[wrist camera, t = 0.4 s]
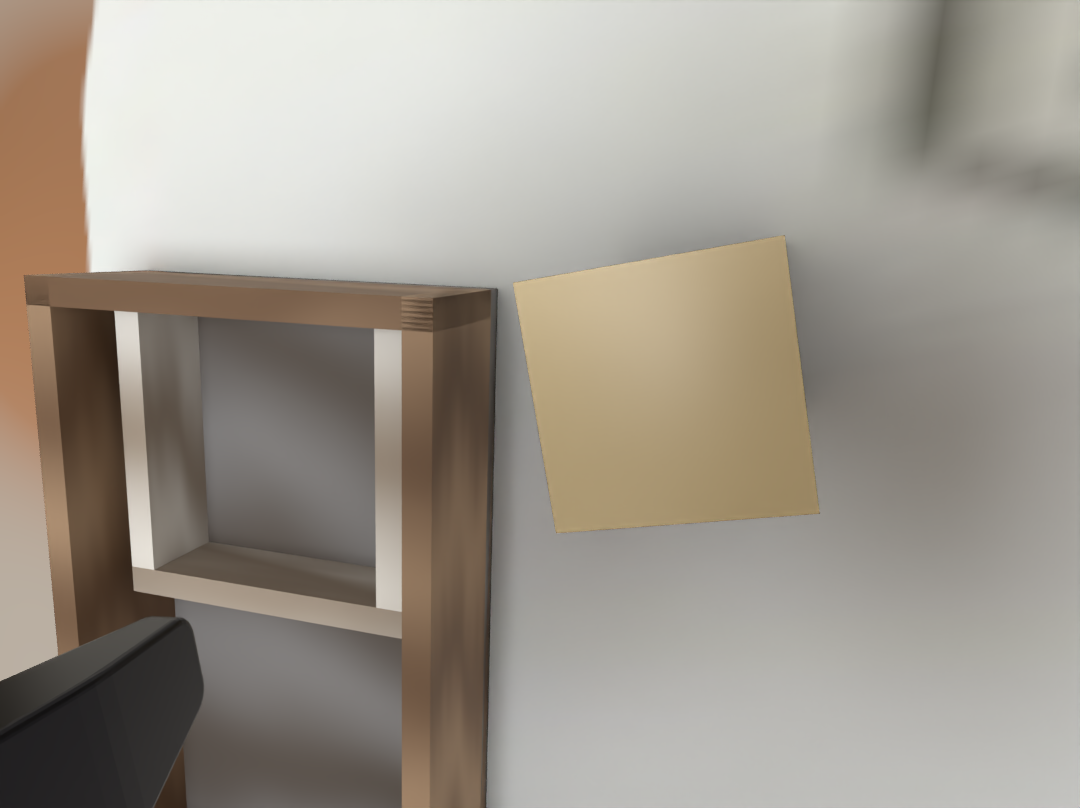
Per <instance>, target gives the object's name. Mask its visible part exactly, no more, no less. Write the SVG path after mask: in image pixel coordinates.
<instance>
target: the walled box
mask: <svg viewBox="0 0 1080 808" xmlns="http://www.w3.org/2000/svg"><path fill="white" fill-rule="evenodd" d="M24 281H25V293H26V304H27V315H28V326H29V336H30V348H31V359H32V370H33V381H34V392H35V403H36V414H37V425H38V436H39V446H40V458H41V468H42V480H43V492H44V503H45V514H46V525H47V535H48V546H49V558H50V569H51V580H52V591H53V601H54V613H55V623H56V635H57V645H58V656H59V655H61V654H63V653H66V652H68V651H70V650H72V649H75V648H77V647H79V646H81V645H84V644H86V643H88V642H91V641H93V640H95V639H97V638H100V637H102V636H104V635H106V634H109V633H111V632H113V631H115V630H118V629H120V628H122V627H125V626H127V625H129V624H131V623H134V622H136V621H138V620H140V619H143V618H145V617H150V616H160V617H181V618H184V619H186V620H187V621H188V622H189V623H190V624H191V626H192V628H193V632H194V636H195V641H196V646H197V650H198V655H199V660H200V665H201V670H202V675H203V679H204V696H203V701H202V705H201V707H200V710H199V712H198V714H197V716H196V719H195V721H194V723H193V725H192V727H191V729H190V731H189V734H188V736H187V738H186V740H185V742H184V744H183V746H182V748H181V751H180V753H179V755H178V757H177V759H176V761H175V763H174V766H173V768H172V770H171V772H170V774H169V776H168V778H167V781H166V783H165V785H164V787H163V789H162V791H161V793H160V796H159V798H158V800H157V802H156V804H155V806H154V808H486V771H487V726H488V682H489V637H490V592H491V547H492V502H493V457H494V412H495V368H496V323H497V289H494V288H475V287H455V286H436V285H416V284H397V283H378V282H358V281H339V280H320V279H300V278H281V277H261V276H242V275H223V274H203V273H184V272H164V271H120V272H94V273H68V274H42V275H24Z"/></svg>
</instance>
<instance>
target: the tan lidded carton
mask: <svg viewBox="0 0 1080 808" xmlns="http://www.w3.org/2000/svg"><path fill="white" fill-rule="evenodd" d="M513 287H514V292H515V298H516V304H517V310H518V316H519V321H520V327H521V333H522V339H523V345H524V350H525V356H526V362H527V368H528V374H529V379H530V385H531V391H532V397H533V403H534V408H535V414H536V420H537V426H538V432H539V437H540V443H541V449H542V455H543V461H544V466H545V472H546V478H547V484H548V490H549V495H550V501H551V507H552V513H553V519H554V524H555V530H556V533H567V532H580V531H594V530H607V529H620V528H634V527H647V526H661V525H674V524H687V523H701V522H714V521H728V520H741V519H754V518H768V517H781V516H795V515H808V514H820V512H819V504H818V496H817V489H816V481H815V473H814V465H813V457H812V449H811V441H810V433H809V425H808V417H807V409H806V401H805V393H804V385H803V377H802V369H801V361H800V353H799V345H798V337H797V329H796V322H795V314H794V306H793V298H792V290H791V282H790V274H789V266H788V258H787V250H786V242H785V235H782V236H777V237H771V238H765V239H760V240H754V241H748V242H742V243H737V244H731V245H725V246H720V247H714V248H708V249H703V250H697V251H691V252H685V253H680V254H674V255H668V256H663V257H657V258H651V259H646V260H640V261H634V262H628V263H623V264H617V265H611V266H606V267H600V268H594V269H589V270H583V271H577V272H571V273H566V274H560V275H554V276H549V277H543V278H537V279H531V280H526V281H520V282H514V283H513Z"/></svg>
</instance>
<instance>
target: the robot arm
mask: <svg viewBox="0 0 1080 808" xmlns="http://www.w3.org/2000/svg"><path fill="white" fill-rule="evenodd" d="M203 696H204V679H203V675H202V670H201V665H200V660H199V655H198V650H197V646H196V641H195V636H194V632H193V628H192V626H191V624H190V623H189V622H188V621H187V620H186V619H184V618H181V617H160V616H150V617H145V618H143V619H140V620H138V621H136V622H134V623H131V624H129V625H127V626H125V627H122V628H120V629H118V630H115V631H113V632H111V633H109V634H106V635H104V636H102V637H100V638H97V639H95V640H93V641H91V642H88V643H86V644H84V645H81V646H79V647H77V648H75V649H72V650H70V651H68V652H66V653H63V654H61V655H59V656H57V657H54V658H52V659H50V660H48V661H45V662H43V663H41V664H39V665H36V666H34V667H32V668H30V669H27V670H25V671H23V672H20V673H18V674H16V675H14V676H11V677H9V678H7V679H4V680H2V681H0V808H154V806H155V804H156V802H157V800H158V798H159V796H160V793H161V791H162V789H163V787H164V785H165V783H166V781H167V778H168V776H169V774H170V772H171V770H172V768H173V766H174V763H175V761H176V759H177V757H178V755H179V753H180V751H181V748H182V746H183V744H184V742H185V740H186V738H187V736H188V734H189V731H190V729H191V727H192V725H193V723H194V721H195V719H196V716H197V714H198V712H199V710H200V707H201V705H202V701H203Z"/></svg>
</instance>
